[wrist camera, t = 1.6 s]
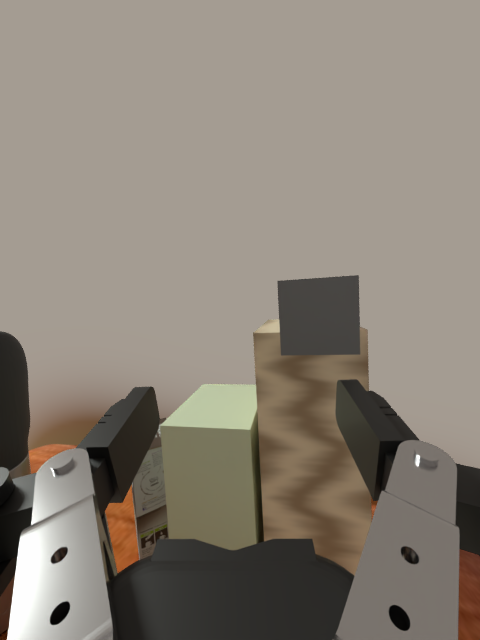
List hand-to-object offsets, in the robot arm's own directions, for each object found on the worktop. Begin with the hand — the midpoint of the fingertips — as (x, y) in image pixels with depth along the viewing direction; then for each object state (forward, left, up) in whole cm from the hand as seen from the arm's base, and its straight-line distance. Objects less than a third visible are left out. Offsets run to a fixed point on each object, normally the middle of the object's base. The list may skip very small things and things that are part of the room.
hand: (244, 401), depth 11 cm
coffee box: (-19, +23, -31) cm, 43 cm away
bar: (+4, +16, +1) cm, 16 cm away
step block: (-7, +21, -31) cm, 38 cm away
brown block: (+4, +21, -31) cm, 37 cm away
